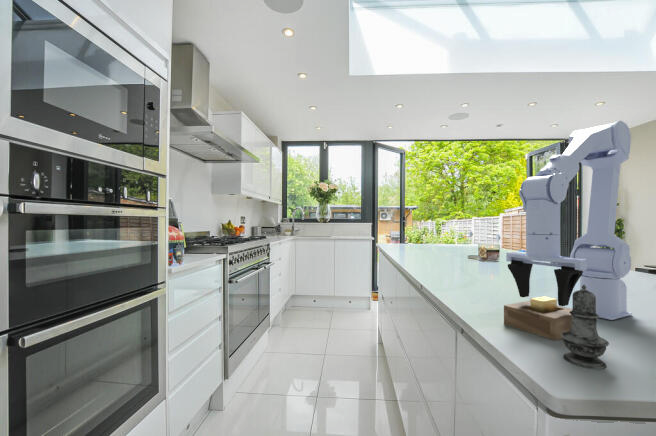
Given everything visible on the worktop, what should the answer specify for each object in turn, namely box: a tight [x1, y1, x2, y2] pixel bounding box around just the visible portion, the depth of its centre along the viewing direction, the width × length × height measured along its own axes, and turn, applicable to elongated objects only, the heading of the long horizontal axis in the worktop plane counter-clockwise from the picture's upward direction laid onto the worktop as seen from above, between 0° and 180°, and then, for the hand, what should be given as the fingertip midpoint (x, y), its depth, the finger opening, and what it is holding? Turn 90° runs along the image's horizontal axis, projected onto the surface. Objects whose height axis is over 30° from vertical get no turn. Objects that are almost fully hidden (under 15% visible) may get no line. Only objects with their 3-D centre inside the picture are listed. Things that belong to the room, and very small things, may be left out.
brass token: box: [529, 295, 558, 313], centre depth 65 cm, size 4×2×6 cm, turn 115°
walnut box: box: [503, 300, 573, 341], centre depth 65 cm, size 10×10×4 cm
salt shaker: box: [561, 285, 610, 370], centre depth 50 cm, size 6×6×12 cm
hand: (542, 300), depth 65 cm, fingers open, 7 cm apart
